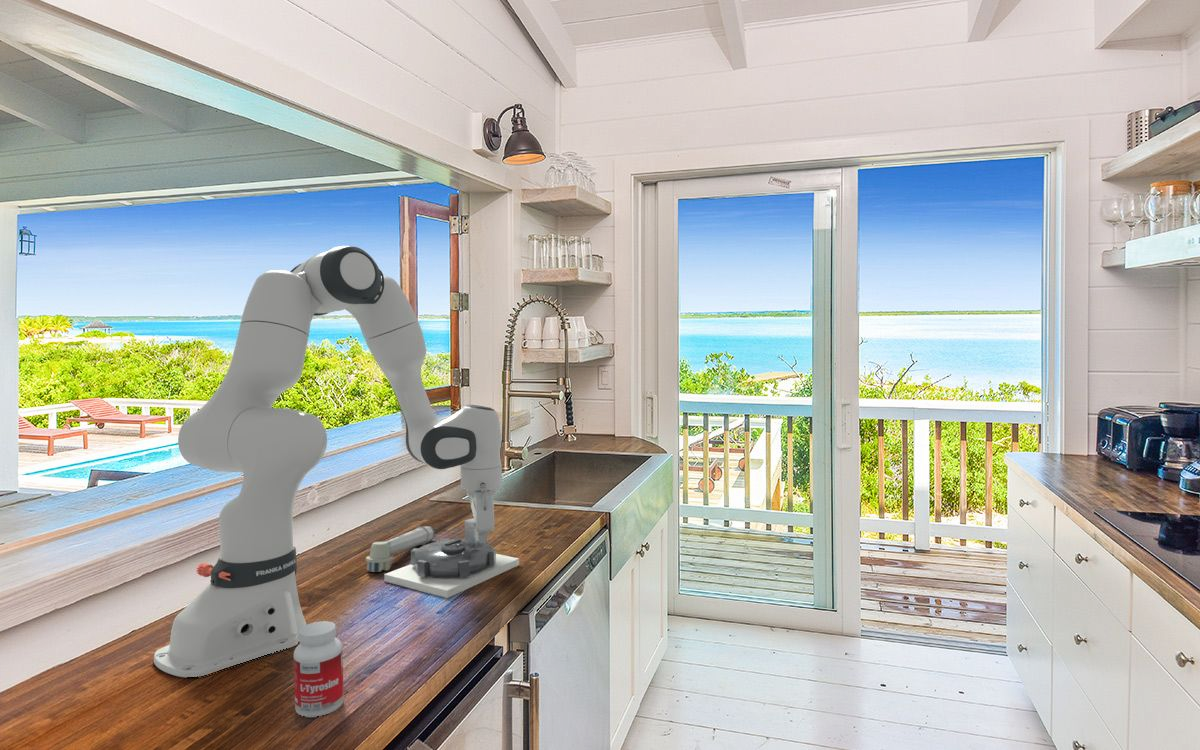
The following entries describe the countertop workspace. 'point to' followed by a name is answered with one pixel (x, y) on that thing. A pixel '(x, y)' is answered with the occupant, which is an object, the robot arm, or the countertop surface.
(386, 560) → the toothbrush head
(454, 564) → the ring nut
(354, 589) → the countertop surface
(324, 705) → the pill bottle
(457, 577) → the base plate
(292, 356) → the robot arm
